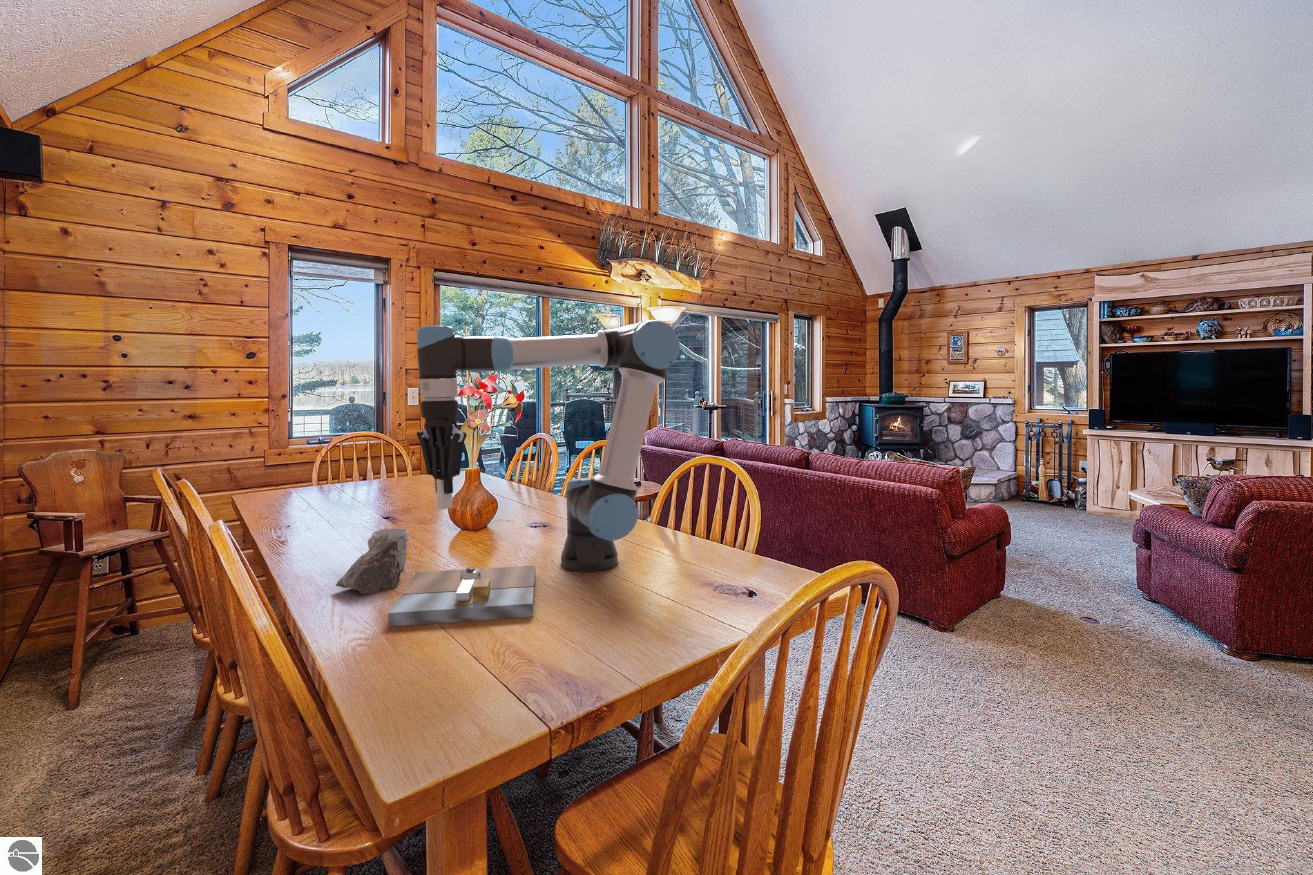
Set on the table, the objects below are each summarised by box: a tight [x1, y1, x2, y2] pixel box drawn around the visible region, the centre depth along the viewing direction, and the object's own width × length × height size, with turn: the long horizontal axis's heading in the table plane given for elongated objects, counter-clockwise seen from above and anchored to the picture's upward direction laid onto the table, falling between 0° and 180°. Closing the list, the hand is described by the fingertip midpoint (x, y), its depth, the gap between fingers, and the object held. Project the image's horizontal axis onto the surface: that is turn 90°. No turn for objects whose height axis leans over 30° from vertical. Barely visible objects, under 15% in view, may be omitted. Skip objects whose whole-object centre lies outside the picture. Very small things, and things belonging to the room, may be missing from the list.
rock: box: [335, 534, 401, 595], centre depth 140 cm, size 12×8×15 cm, turn 138°
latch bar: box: [456, 566, 481, 602], centre depth 128 cm, size 14×4×3 cm, turn 9°
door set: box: [387, 565, 537, 628], centre depth 132 cm, size 28×26×6 cm
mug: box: [367, 527, 409, 572], centre depth 152 cm, size 11×8×10 cm
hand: (445, 507), depth 128 cm, fingers closed
